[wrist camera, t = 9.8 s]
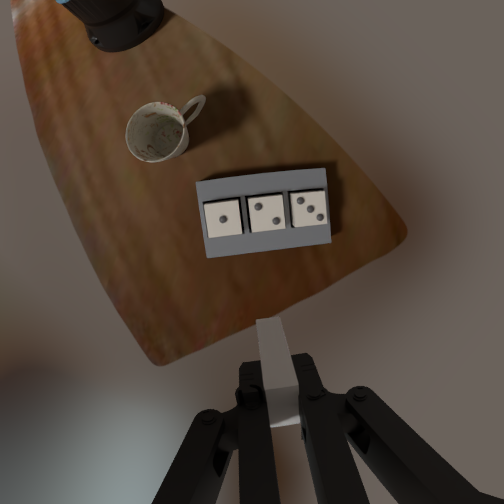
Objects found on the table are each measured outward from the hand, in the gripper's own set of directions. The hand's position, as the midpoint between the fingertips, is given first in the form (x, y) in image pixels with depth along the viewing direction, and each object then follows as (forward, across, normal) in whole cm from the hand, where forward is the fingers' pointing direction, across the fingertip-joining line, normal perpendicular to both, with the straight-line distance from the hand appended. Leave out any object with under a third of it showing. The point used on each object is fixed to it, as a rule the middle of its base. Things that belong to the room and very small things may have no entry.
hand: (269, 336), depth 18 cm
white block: (+30, -4, +4) cm, 30 cm away
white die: (+30, +3, +4) cm, 30 cm away
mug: (+31, -9, +19) cm, 38 cm away
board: (+31, +3, +4) cm, 31 cm away
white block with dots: (+30, +9, +4) cm, 32 cm away
